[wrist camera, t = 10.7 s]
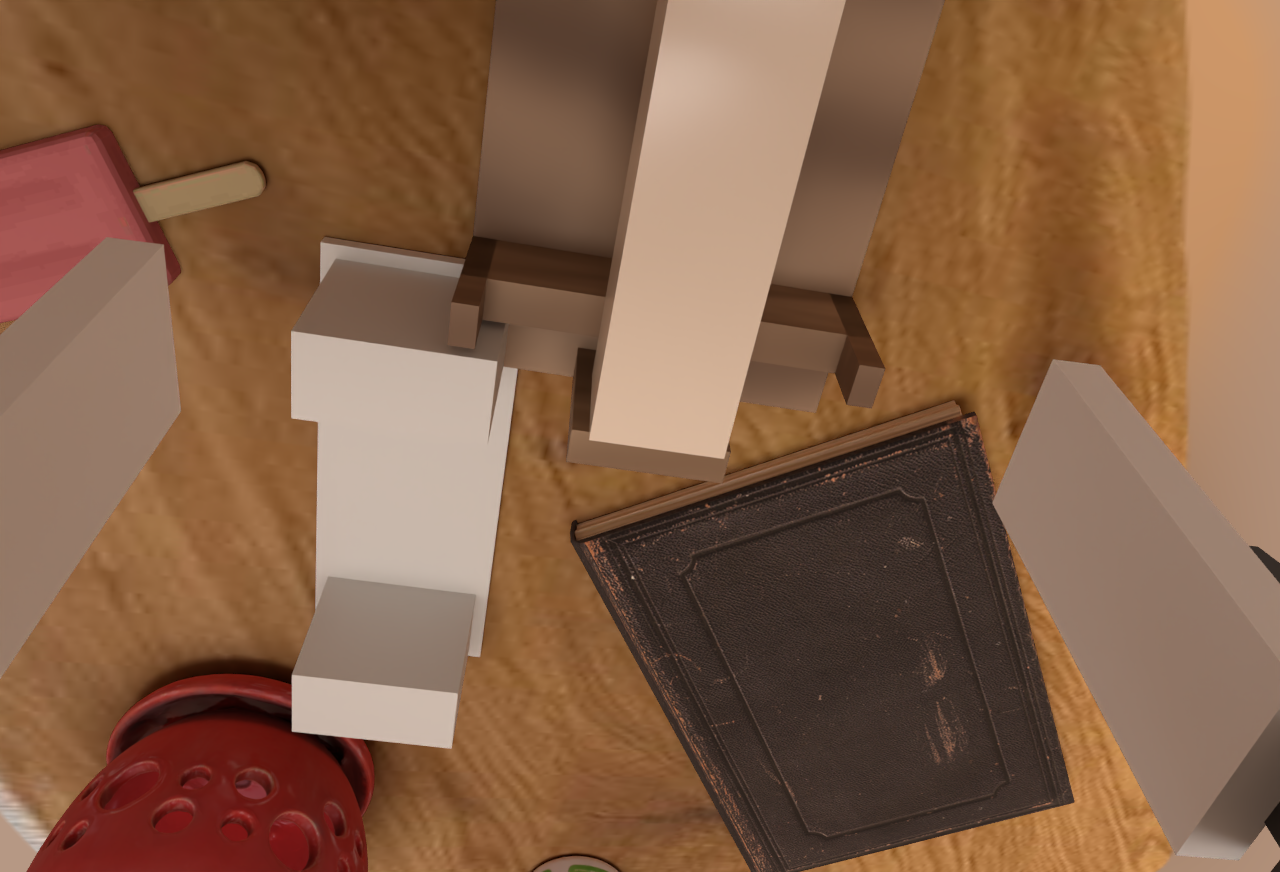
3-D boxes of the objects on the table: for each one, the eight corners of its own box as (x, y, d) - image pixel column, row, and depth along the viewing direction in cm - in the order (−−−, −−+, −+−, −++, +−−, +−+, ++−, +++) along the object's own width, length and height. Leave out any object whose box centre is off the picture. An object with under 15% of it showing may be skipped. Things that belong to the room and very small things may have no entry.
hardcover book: (959, 384, 39) (977, 416, 37) (1057, 763, 50) (1075, 803, 48) (570, 513, 42) (567, 549, 40) (747, 844, 53) (752, 884, 51)
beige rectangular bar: (701, -252, 24) (715, -260, 21) (864, -217, 25) (904, -219, 21) (592, 373, 33) (589, 439, 30) (713, 391, 33) (724, 459, 30)
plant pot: (92, 795, 49) (-45, 1054, 39) (148, 607, 43) (3, 857, 33) (354, 864, 53) (291, 1121, 42) (442, 699, 46) (392, 952, 36)
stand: (324, 236, 35) (273, 313, 29) (531, 269, 35) (516, 349, 30) (317, 629, 44) (278, 739, 39) (481, 649, 45) (463, 758, 40)
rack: (535, -378, 26) (514, -423, 21) (1019, -268, 27) (1115, -283, 22) (463, 350, 37) (437, 444, 32) (812, 401, 38) (843, 500, 33)
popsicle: (289, 261, 34) (-117, 356, 35) (302, 243, 35) (-91, 335, 37) (218, 99, 31) (-220, 211, 33) (234, 87, 32) (-187, 195, 34)
